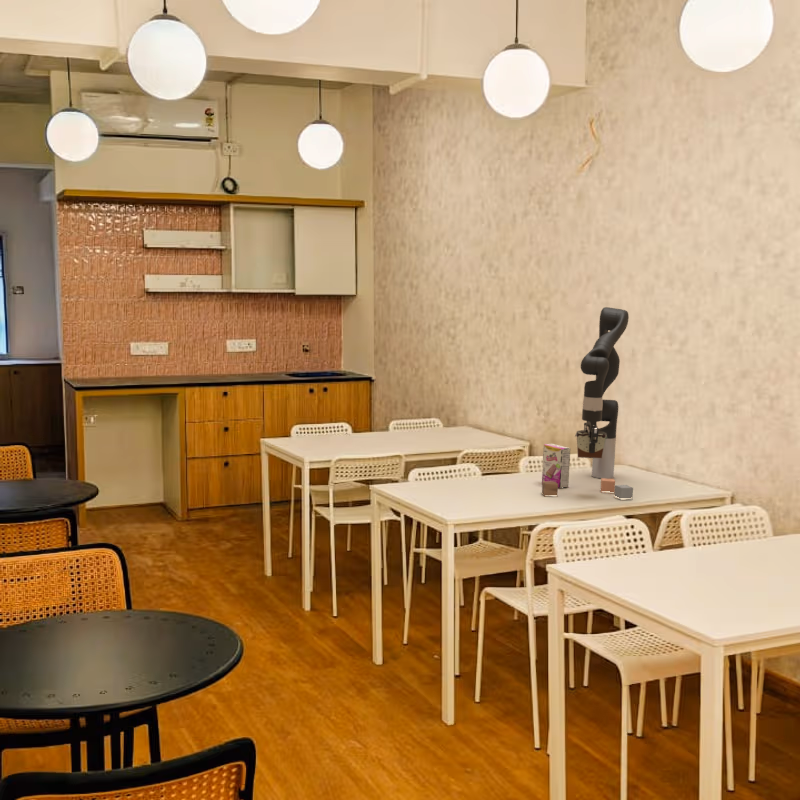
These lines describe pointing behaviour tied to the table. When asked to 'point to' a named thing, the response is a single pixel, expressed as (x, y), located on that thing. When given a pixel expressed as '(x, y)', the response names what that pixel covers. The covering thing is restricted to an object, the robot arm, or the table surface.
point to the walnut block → (549, 488)
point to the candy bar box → (556, 464)
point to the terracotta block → (607, 484)
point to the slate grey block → (623, 491)
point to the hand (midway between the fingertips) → (589, 451)
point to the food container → (584, 445)
